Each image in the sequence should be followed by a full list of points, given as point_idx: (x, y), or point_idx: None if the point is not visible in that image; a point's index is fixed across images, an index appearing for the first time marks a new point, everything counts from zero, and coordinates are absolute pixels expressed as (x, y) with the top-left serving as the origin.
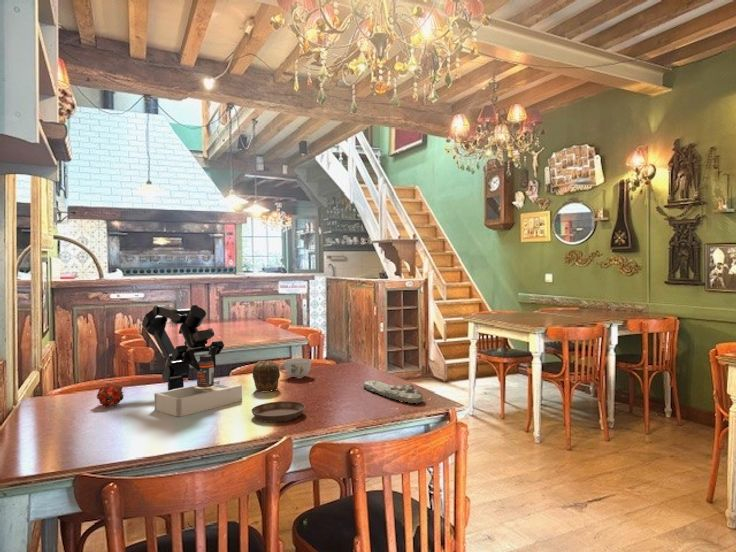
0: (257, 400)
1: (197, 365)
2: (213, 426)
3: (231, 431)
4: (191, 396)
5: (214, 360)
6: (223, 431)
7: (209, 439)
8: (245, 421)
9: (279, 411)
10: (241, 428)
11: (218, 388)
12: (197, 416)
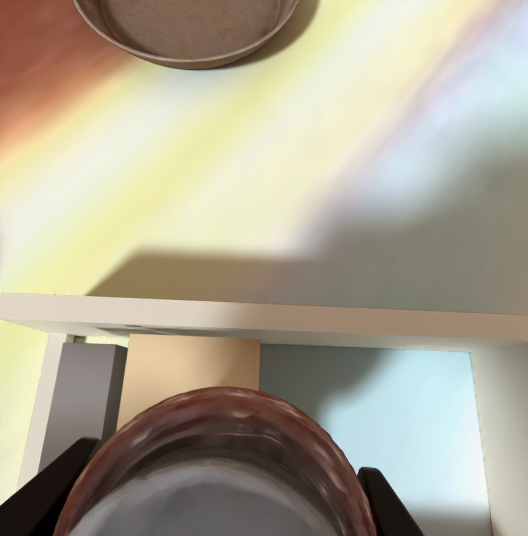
0: (19, 243)
1: (412, 525)
2: (439, 94)
3: (424, 10)
4: (451, 320)
5: (1, 528)
6: (444, 29)
7: (519, 8)
8: (319, 47)
9: (150, 22)
10: (382, 6)
11: (156, 390)
12: (411, 262)
